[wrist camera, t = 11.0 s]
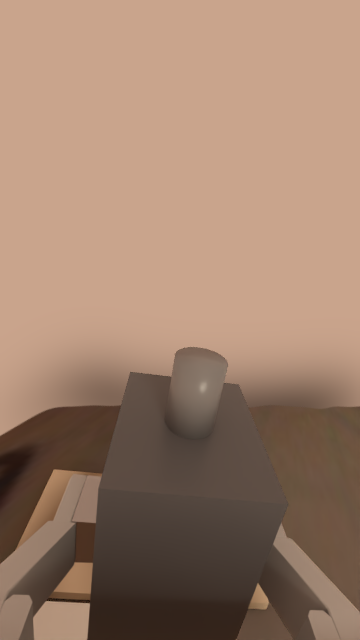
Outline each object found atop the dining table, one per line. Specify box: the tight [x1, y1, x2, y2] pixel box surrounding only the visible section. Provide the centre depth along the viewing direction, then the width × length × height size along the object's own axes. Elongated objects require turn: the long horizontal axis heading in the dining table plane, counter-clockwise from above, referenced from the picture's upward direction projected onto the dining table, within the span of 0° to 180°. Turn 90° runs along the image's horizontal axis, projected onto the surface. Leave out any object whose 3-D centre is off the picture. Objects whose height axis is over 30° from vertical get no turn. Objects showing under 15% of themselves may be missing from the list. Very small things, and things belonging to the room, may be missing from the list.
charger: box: [87, 347, 288, 640], centre depth 10 cm, size 4×5×14 cm
